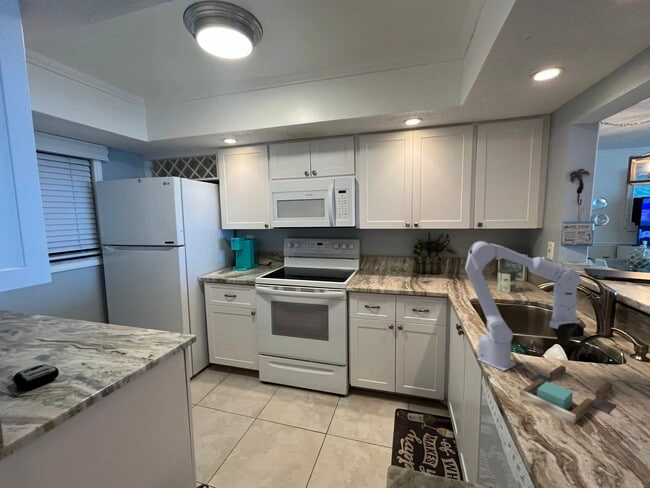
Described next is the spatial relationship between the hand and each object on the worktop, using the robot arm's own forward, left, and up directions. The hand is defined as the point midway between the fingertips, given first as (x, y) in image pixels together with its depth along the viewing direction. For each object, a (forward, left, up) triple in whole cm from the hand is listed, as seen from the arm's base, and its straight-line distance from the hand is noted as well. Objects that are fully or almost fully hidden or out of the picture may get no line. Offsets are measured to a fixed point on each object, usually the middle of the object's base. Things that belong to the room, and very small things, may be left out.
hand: (562, 344), depth 93 cm
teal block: (+6, -20, -10) cm, 23 cm away
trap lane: (+6, -12, -9) cm, 16 cm away
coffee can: (-62, +83, -10) cm, 104 cm away
